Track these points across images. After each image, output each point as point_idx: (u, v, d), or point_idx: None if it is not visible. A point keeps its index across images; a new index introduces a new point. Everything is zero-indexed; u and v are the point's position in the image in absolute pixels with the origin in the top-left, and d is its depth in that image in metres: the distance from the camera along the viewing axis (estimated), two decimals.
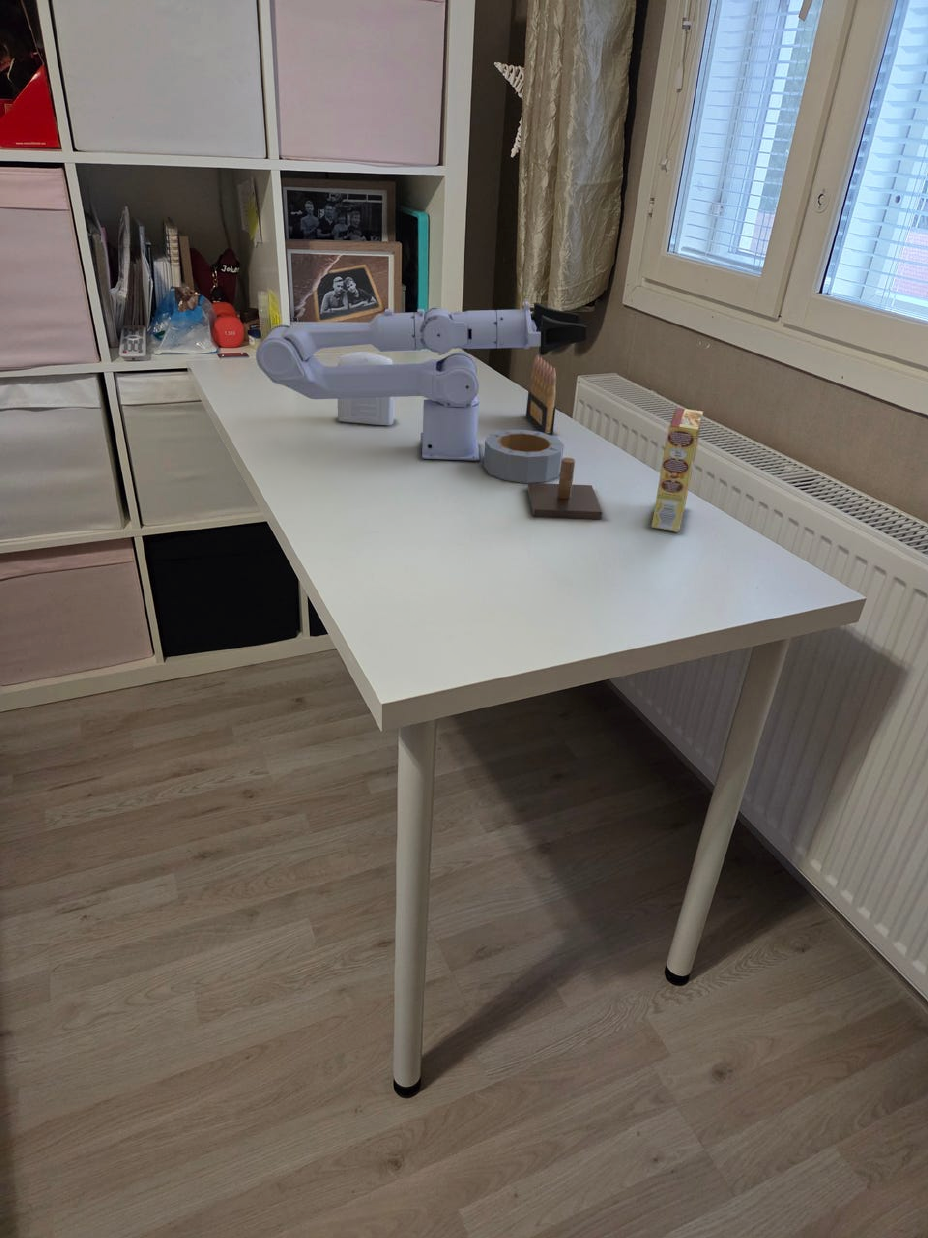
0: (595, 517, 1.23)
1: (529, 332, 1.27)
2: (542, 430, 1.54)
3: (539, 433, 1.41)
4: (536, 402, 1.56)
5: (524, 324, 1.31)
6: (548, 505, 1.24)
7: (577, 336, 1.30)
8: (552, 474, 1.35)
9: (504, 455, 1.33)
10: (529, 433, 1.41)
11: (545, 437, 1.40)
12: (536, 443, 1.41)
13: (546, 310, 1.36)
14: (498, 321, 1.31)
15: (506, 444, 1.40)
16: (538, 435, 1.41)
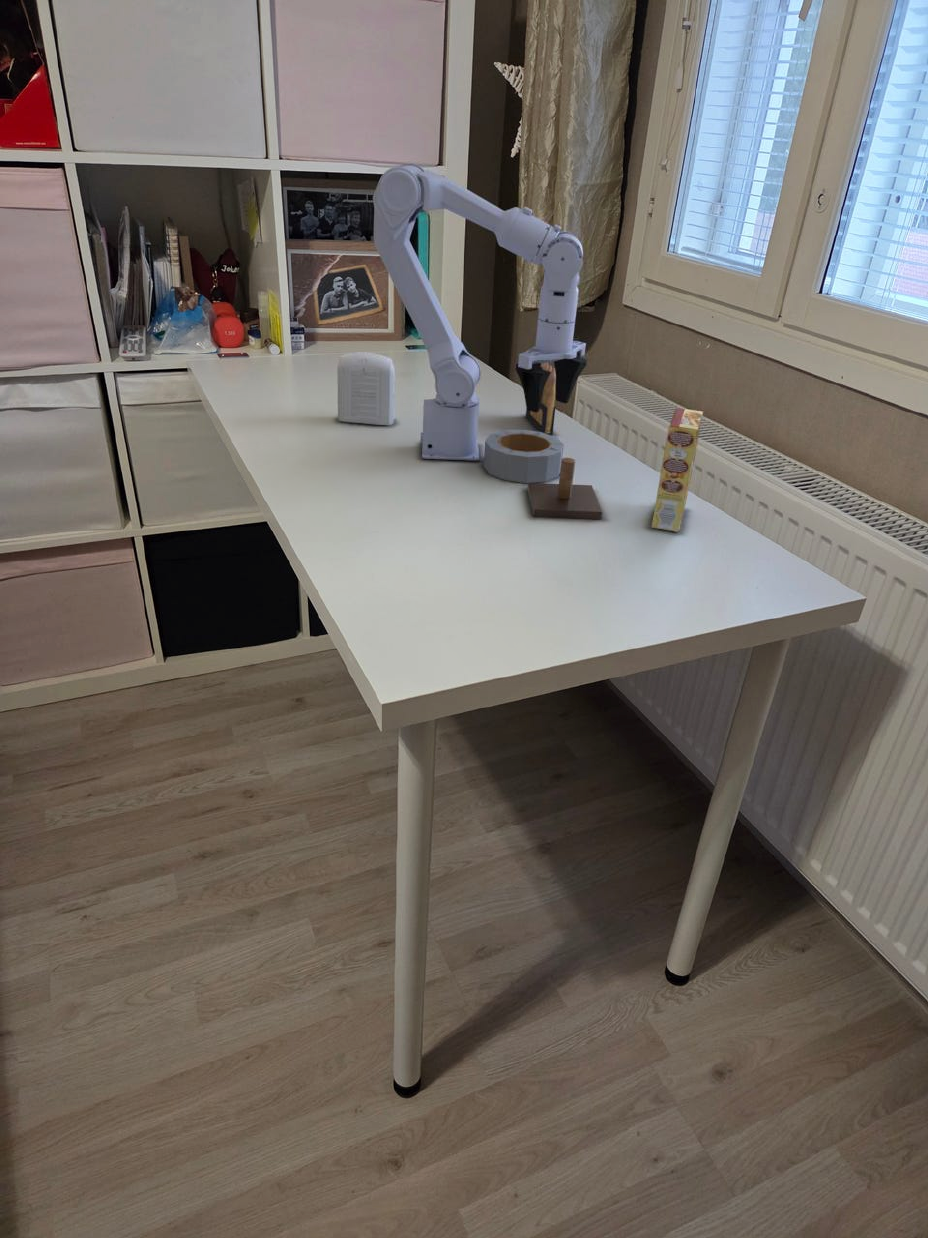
0: (595, 517, 1.23)
1: (530, 357, 1.28)
2: (542, 430, 1.54)
3: (539, 433, 1.41)
4: None
5: (549, 351, 1.30)
6: (548, 505, 1.24)
7: (529, 402, 1.34)
8: (552, 474, 1.35)
9: (504, 455, 1.33)
10: (529, 433, 1.41)
11: (545, 437, 1.40)
12: (536, 443, 1.41)
13: (574, 372, 1.36)
14: (556, 324, 1.28)
15: (506, 444, 1.40)
16: (538, 435, 1.41)
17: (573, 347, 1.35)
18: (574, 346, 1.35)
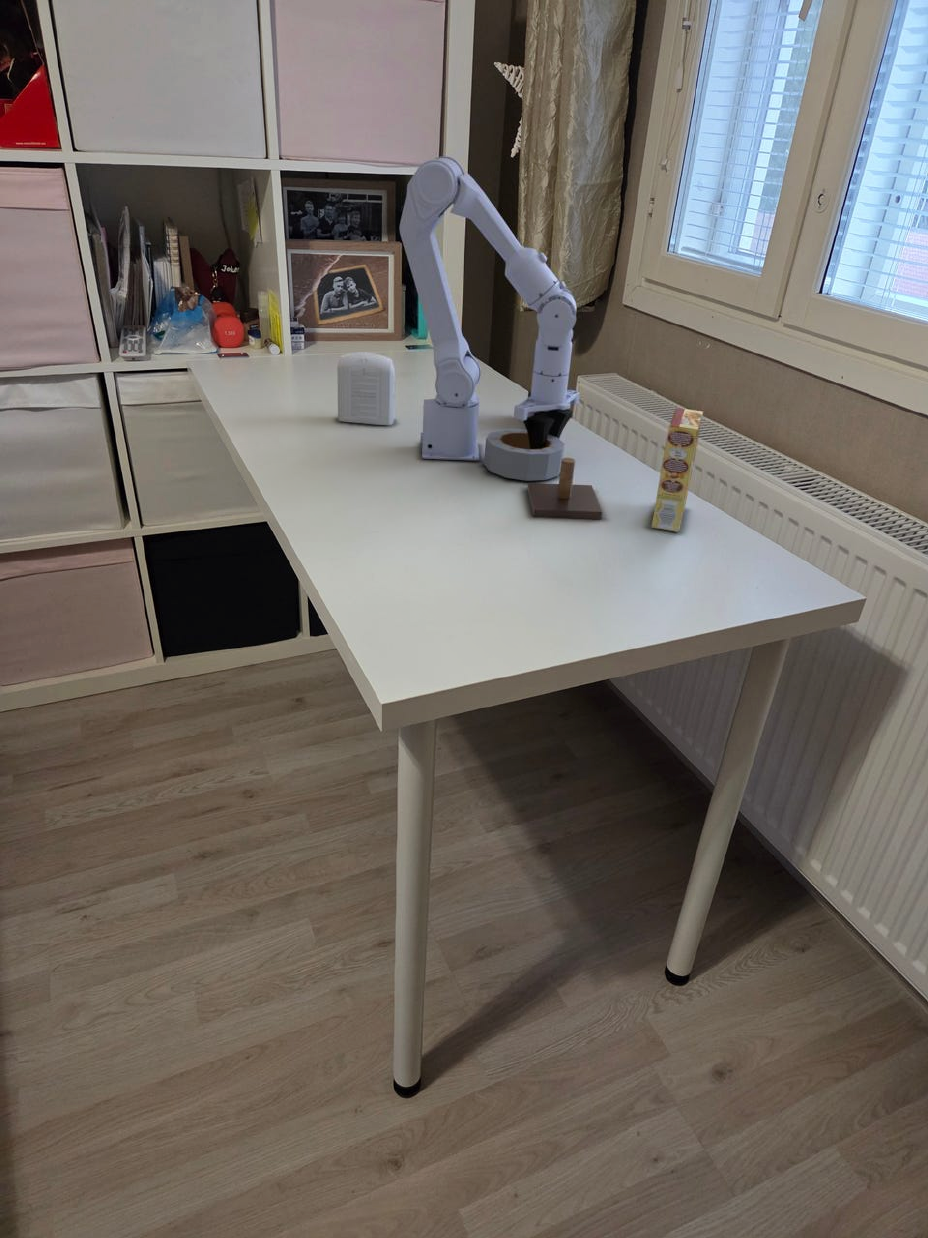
0: (595, 517, 1.23)
1: (525, 409, 1.32)
2: None
3: None
4: None
5: (544, 402, 1.35)
6: (548, 505, 1.24)
7: (533, 447, 1.40)
8: (552, 473, 1.35)
9: (505, 452, 1.32)
10: None
11: None
12: None
13: (559, 423, 1.39)
14: (550, 377, 1.32)
15: (507, 443, 1.40)
16: None
17: (567, 396, 1.40)
18: (568, 395, 1.40)
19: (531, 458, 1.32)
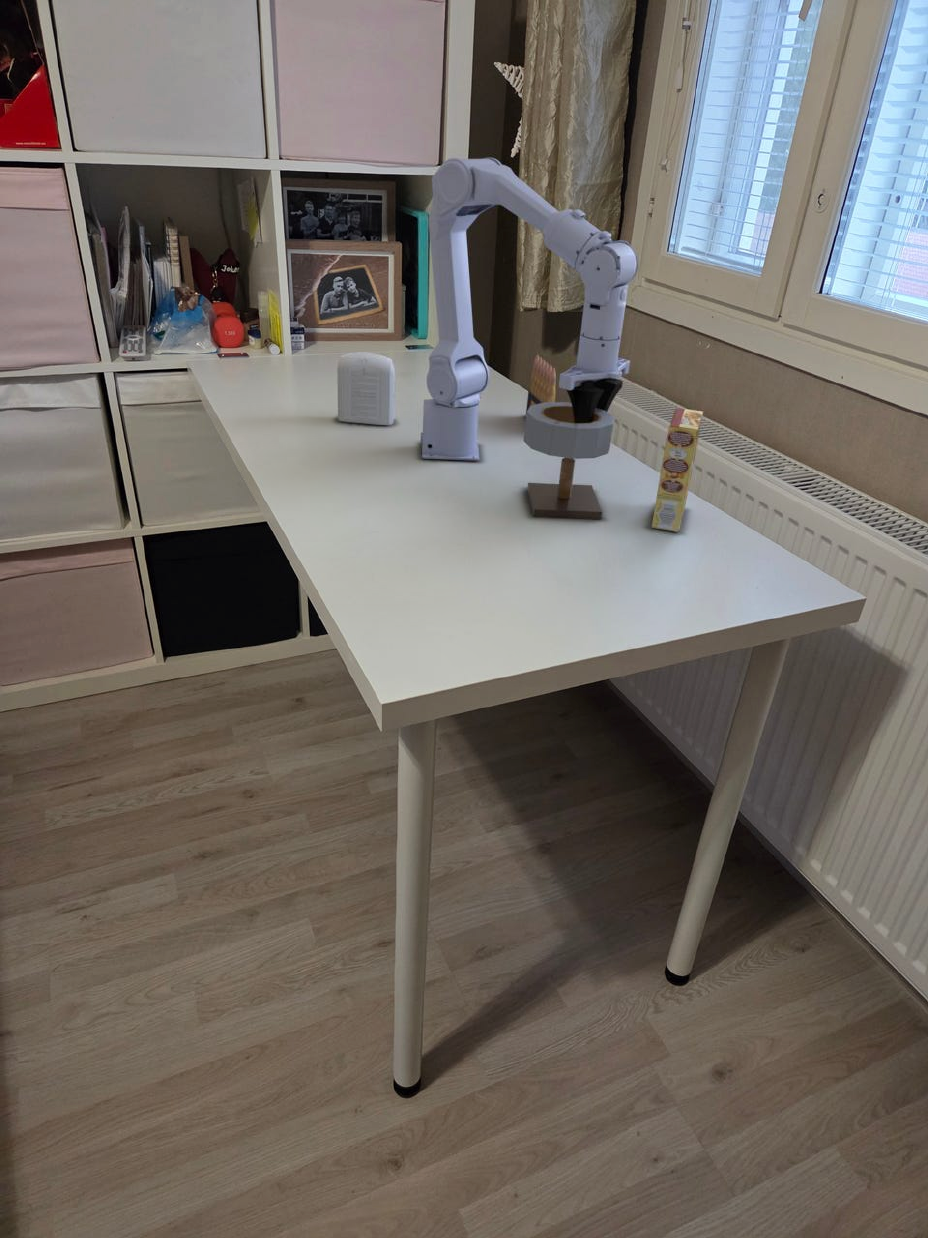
0: (595, 517, 1.23)
1: (572, 377, 1.17)
2: None
3: None
4: (536, 402, 1.56)
5: (592, 370, 1.19)
6: (548, 505, 1.24)
7: (579, 422, 1.25)
8: (602, 450, 1.20)
9: (549, 426, 1.17)
10: None
11: None
12: None
13: (608, 394, 1.24)
14: (600, 341, 1.17)
15: (549, 417, 1.25)
16: None
17: (617, 365, 1.24)
18: (618, 364, 1.24)
19: (579, 433, 1.17)
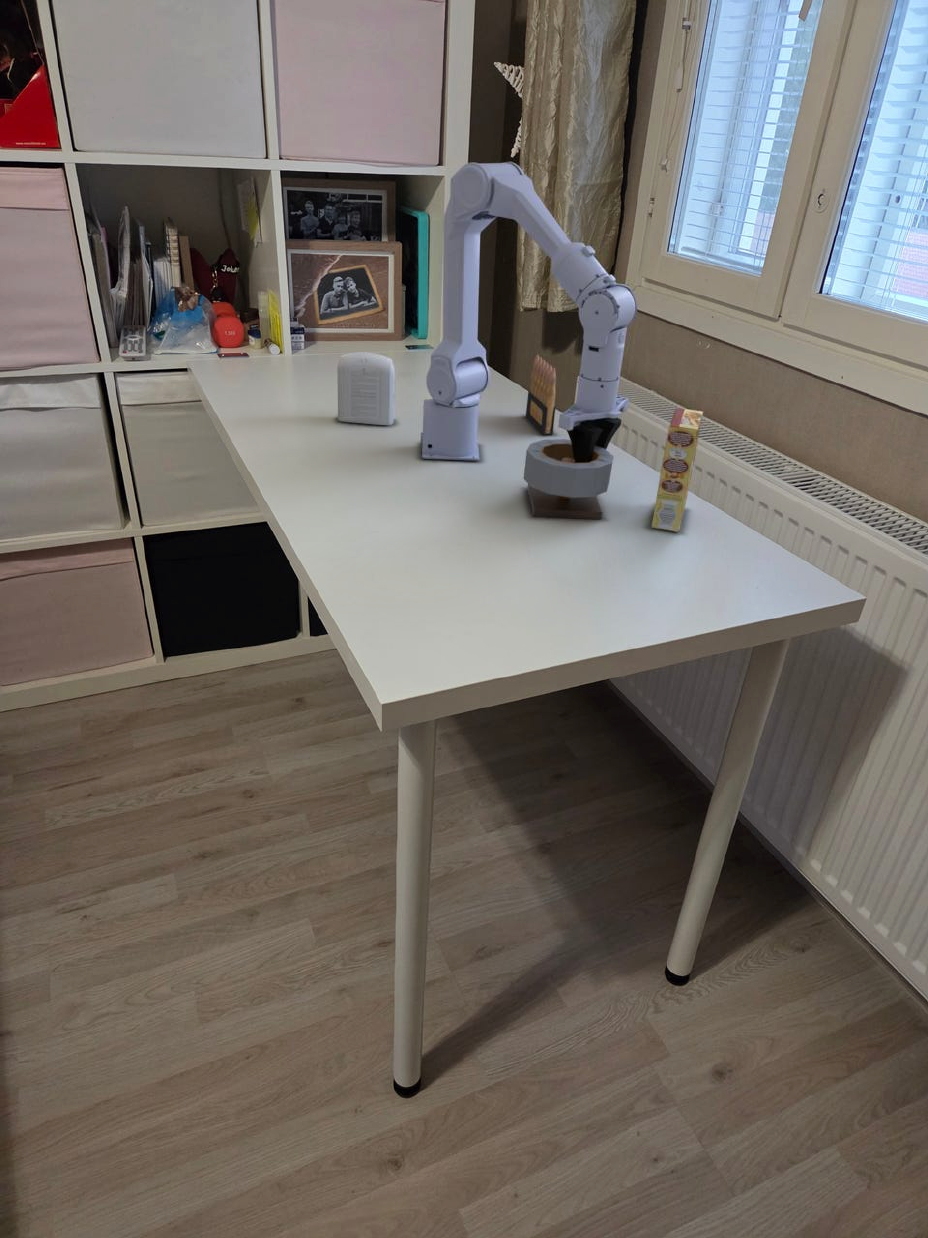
0: (595, 517, 1.23)
1: (572, 418, 1.19)
2: (542, 430, 1.54)
3: None
4: (536, 402, 1.56)
5: (591, 410, 1.21)
6: (548, 505, 1.24)
7: (578, 459, 1.27)
8: (601, 488, 1.22)
9: (549, 466, 1.19)
10: None
11: None
12: None
13: (607, 433, 1.25)
14: (599, 382, 1.19)
15: (548, 455, 1.27)
16: None
17: (615, 403, 1.26)
18: (617, 402, 1.26)
19: (578, 473, 1.19)
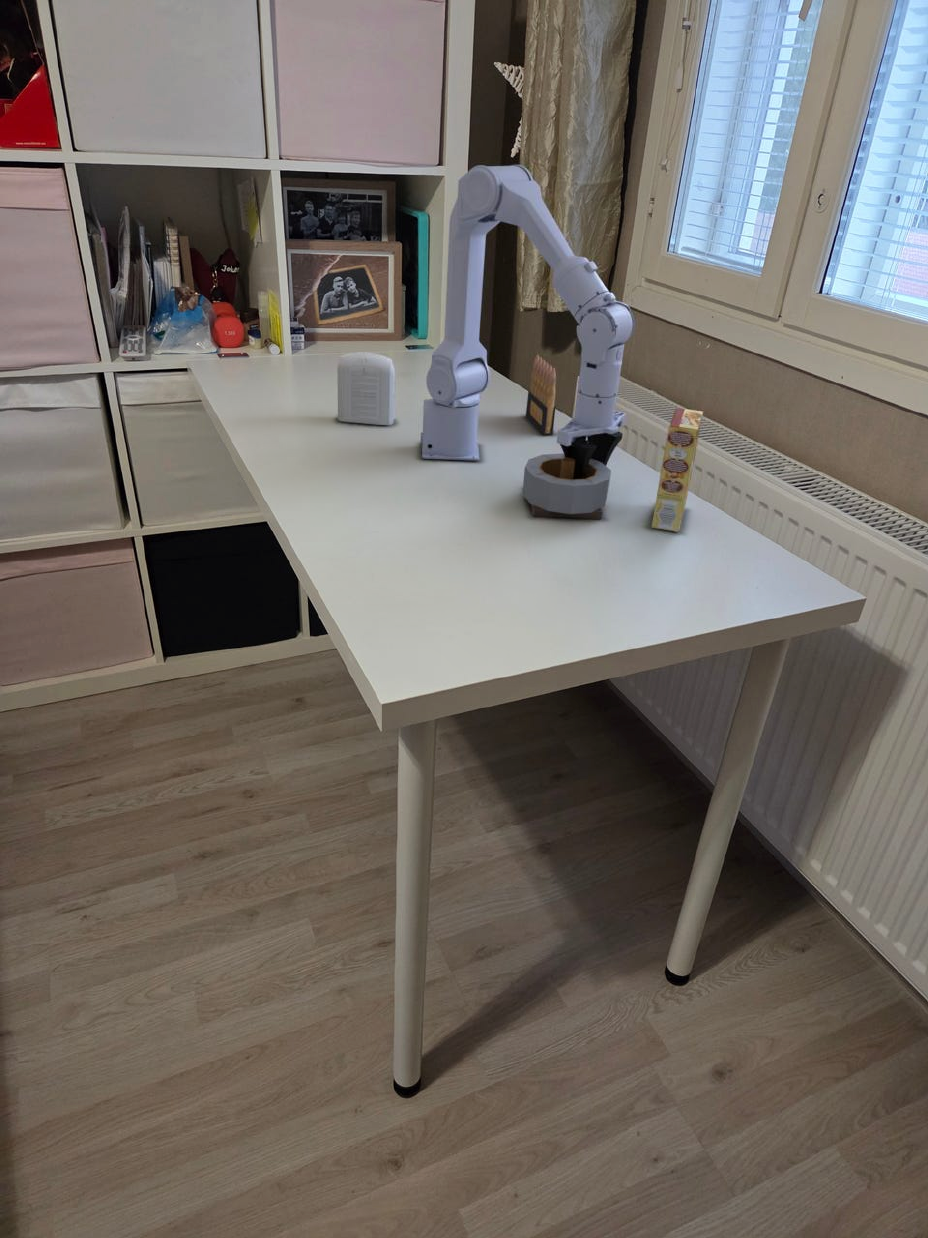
0: (595, 517, 1.23)
1: (570, 434, 1.20)
2: (542, 430, 1.54)
3: None
4: (536, 402, 1.56)
5: (589, 426, 1.22)
6: None
7: None
8: (599, 504, 1.23)
9: (547, 483, 1.20)
10: None
11: (590, 462, 1.27)
12: None
13: (608, 446, 1.27)
14: (597, 398, 1.20)
15: (547, 470, 1.28)
16: None
17: (613, 418, 1.27)
18: (614, 417, 1.27)
19: (576, 490, 1.20)
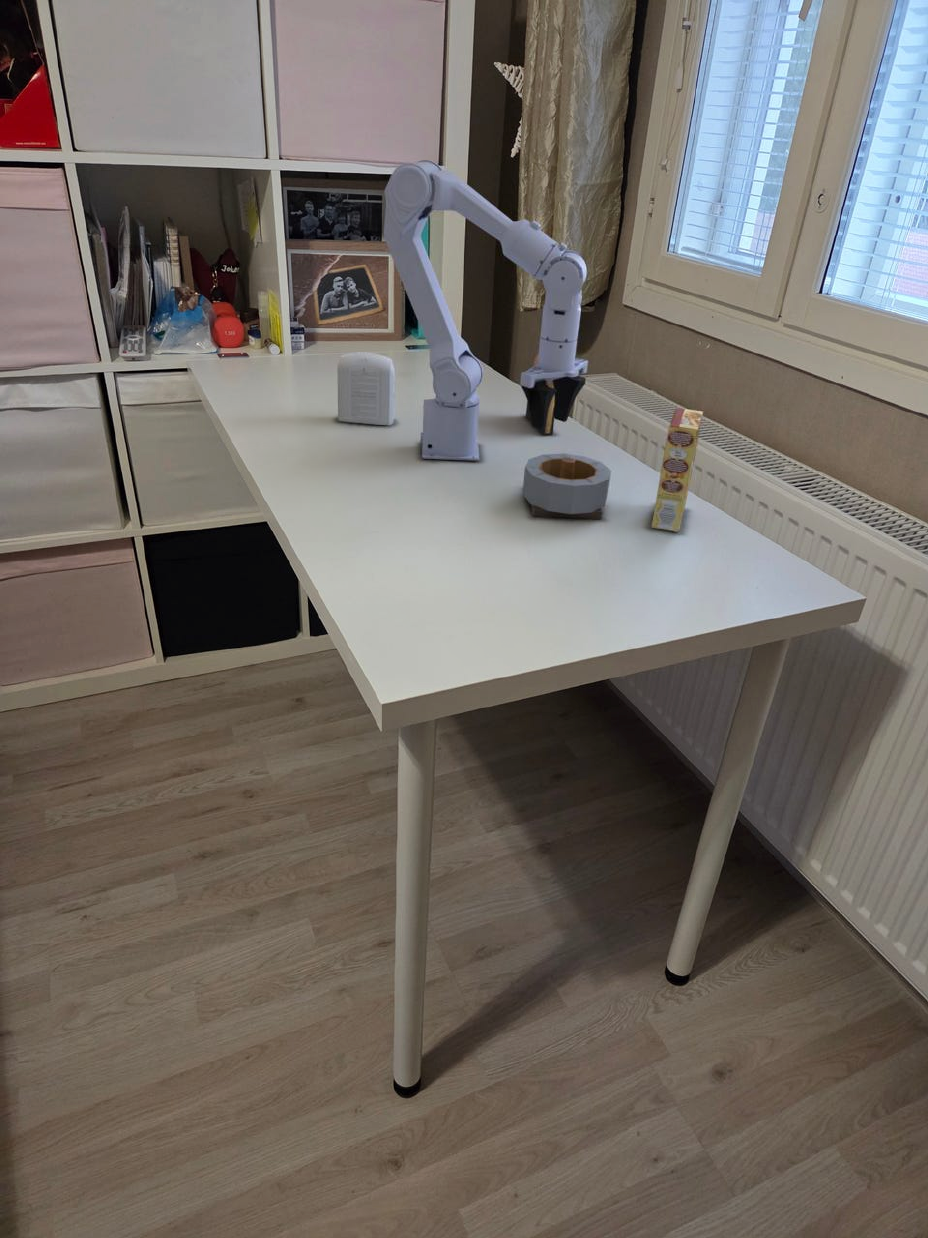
0: (595, 517, 1.23)
1: (532, 376, 1.28)
2: (542, 430, 1.54)
3: (583, 458, 1.29)
4: None
5: (551, 369, 1.30)
6: None
7: (534, 419, 1.35)
8: (599, 504, 1.23)
9: (547, 483, 1.20)
10: (572, 458, 1.29)
11: (590, 462, 1.27)
12: (580, 469, 1.28)
13: (572, 390, 1.35)
14: (558, 343, 1.28)
15: (547, 470, 1.28)
16: (582, 460, 1.28)
17: (575, 365, 1.35)
18: (576, 364, 1.35)
19: (576, 490, 1.20)
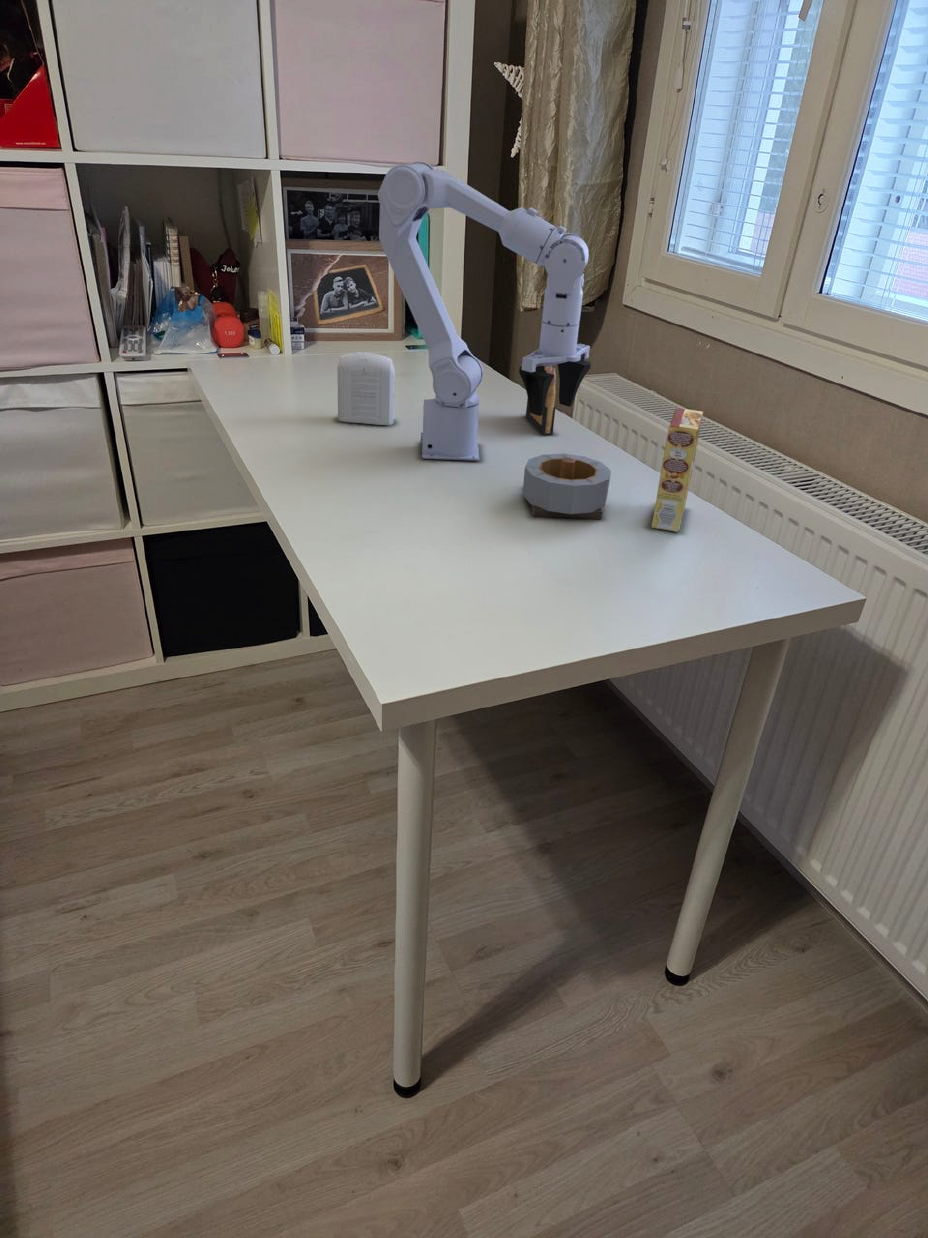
0: (595, 517, 1.23)
1: (534, 360, 1.27)
2: (542, 430, 1.54)
3: (583, 458, 1.29)
4: None
5: (553, 354, 1.29)
6: None
7: (532, 405, 1.33)
8: (599, 504, 1.23)
9: (547, 483, 1.20)
10: (572, 458, 1.29)
11: (590, 462, 1.27)
12: (580, 469, 1.28)
13: (577, 375, 1.35)
14: (560, 327, 1.27)
15: (547, 470, 1.28)
16: (582, 460, 1.28)
17: (577, 350, 1.34)
18: (578, 349, 1.34)
19: (576, 490, 1.20)
